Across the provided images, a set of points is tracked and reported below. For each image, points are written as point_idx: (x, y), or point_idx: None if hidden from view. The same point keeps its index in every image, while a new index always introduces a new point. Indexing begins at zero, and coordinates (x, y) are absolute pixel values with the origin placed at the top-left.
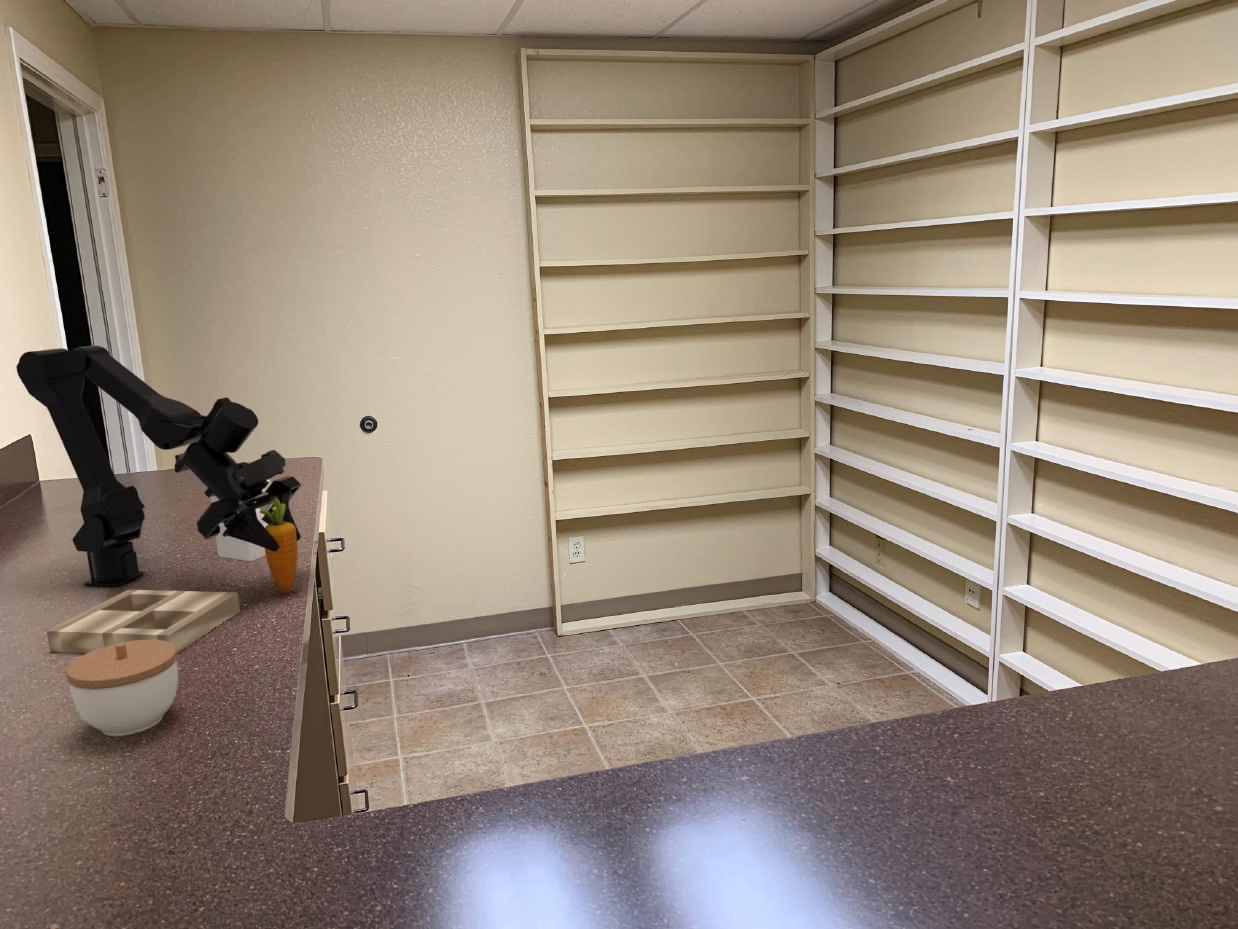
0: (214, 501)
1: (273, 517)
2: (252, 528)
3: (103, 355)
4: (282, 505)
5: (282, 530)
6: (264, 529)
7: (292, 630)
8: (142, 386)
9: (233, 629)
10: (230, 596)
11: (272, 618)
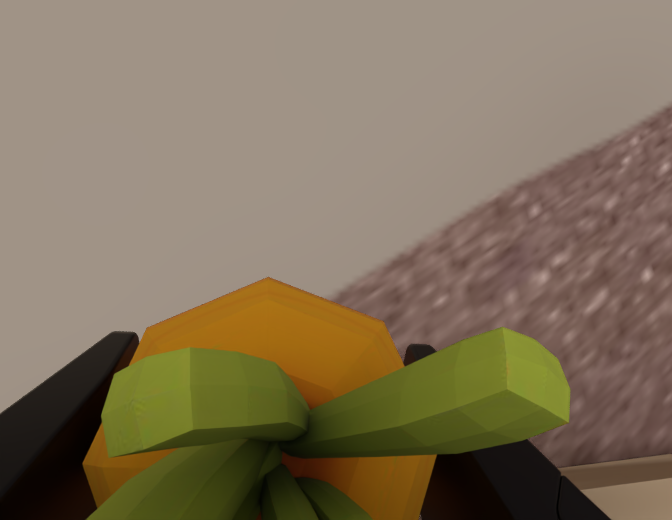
0: None
1: (329, 512)
2: None
3: None
4: (210, 395)
5: (382, 324)
6: (516, 480)
7: (597, 161)
8: None
9: (653, 373)
10: (610, 490)
11: (530, 292)
